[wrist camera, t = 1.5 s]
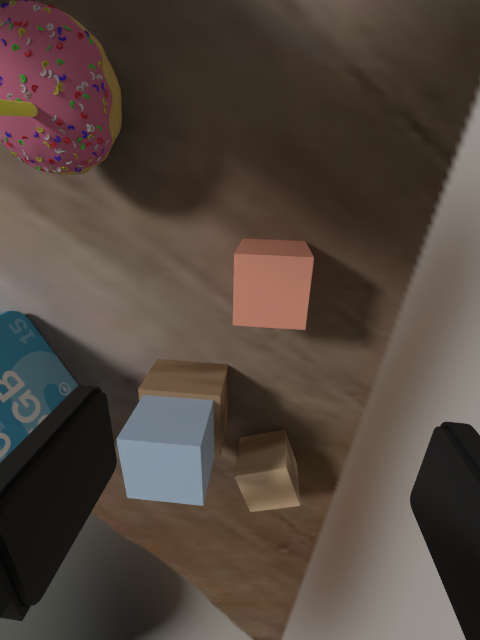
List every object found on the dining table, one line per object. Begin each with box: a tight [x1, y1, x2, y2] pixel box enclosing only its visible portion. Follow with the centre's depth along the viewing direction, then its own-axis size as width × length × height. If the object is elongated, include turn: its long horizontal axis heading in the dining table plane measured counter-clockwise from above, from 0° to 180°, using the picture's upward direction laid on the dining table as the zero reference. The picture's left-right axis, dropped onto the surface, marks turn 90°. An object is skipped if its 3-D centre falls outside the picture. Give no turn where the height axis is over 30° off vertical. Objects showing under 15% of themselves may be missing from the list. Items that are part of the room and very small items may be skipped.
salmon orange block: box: [233, 238, 314, 330], centre depth 23 cm, size 5×5×6 cm
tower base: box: [138, 359, 228, 458], centre depth 30 cm, size 7×7×5 cm
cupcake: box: [0, 0, 122, 175], centre depth 17 cm, size 9×8×12 cm
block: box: [234, 429, 300, 512], centre depth 32 cm, size 5×5×5 cm
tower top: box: [116, 395, 215, 506], centre depth 25 cm, size 6×6×5 cm
